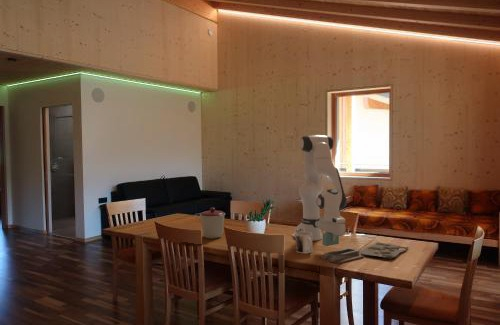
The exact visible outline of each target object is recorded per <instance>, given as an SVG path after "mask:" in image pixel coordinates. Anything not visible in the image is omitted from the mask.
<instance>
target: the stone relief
mask: <svg viewBox="0 0 500 325" xmlns="http://www.w3.org/2000/svg"><path fill="white" fill-rule="evenodd" d="M403 248H404V249H405V250H404V249H403ZM409 248H410V247H409V246H400V245H397V244H392V243H386V242H385V243H384V242H380V241H376V242H375V243H374V244H372V245H369V246H366V247H365V248H363V249H361V250H359V255H361V256H371V257H374V256H375V257H378V258H379V257H380V258H382V259H385V260H389V261H390V260H392V259H393V258H396V257H398V255H399V254H400V253H403V252H405V251H407V250H408V249H409ZM399 249H400V250H399Z"/></svg>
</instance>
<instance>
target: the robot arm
mask: <svg viewBox="0 0 500 325" xmlns="http://www.w3.org/2000/svg"><path fill="white" fill-rule="evenodd" d="M333 139H334V138H333V137H332V136H330V135H327V134H326V135H324V134H323V135H321V134H316V135H315V134H313V135H304V136H302V137H301V138H300V141H299V147H300V149H301V151H303V152H304V153H303V166H302V168H303V172H302V173H303V175H304V178H305V182H304V183H302V184H301V185H300V186H299V188H298V195H299V196H300V198H301V203H302V217H300V221H301V222H300V223H299V224H298V225H297V226H296V227H295V228H294V233H292V234H291V237H293V238H294V239H296V233H297V232H311V233H312V242H313V241H320V240H323V234H322V231H324V233H332V234H333V238H331V240H332V241H335V238H336V236H337V235H338V236H339V237H344V236H345V235H346V224H345V223H346V218H344V217H343V216H342V215H341V214H340V210H343V209H344V208H345V207H346V206H347V203H348V198H347V197H346V196H347V195H346V194H345V190H344V187H343V183H342V179H341V176H340V175H341V174H340V172H339V169H338V168H337V167H335V164H334V163H333V159H332V158H333V157H332V153H331V152H332V150H333V148H334V140H333ZM321 174H322V175H324V176H326V177H328V178H330V179H331V182H332V184H333V187H334V189H332V188H331V189H326V190H325V192H323V191H324V186H323V183H322V179H321V178H322V177H321ZM322 192H323V193H322ZM320 209H323V210H324V214H323V213H322V214H321V215H320Z"/></svg>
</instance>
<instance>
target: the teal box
mask: <svg viewBox="0 0 500 325" xmlns="http://www.w3.org/2000/svg"><path fill="white" fill-rule="evenodd" d="M331 238H333V234H332V233H325V232H323V233H322V246H324V247H329V246H334V245H335V246H336V245H339V244H340V243H339V242H340V241H339V240H340V236H338V235H337V236H336V238H335V241H332V240H331Z"/></svg>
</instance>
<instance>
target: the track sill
mask: <svg viewBox="0 0 500 325" xmlns="http://www.w3.org/2000/svg"><path fill="white" fill-rule="evenodd" d="M359 251H360V250H358V249H356V248H352V247H346V248H342V249H337V250H333V251H329V252H324V255H320V259H322V260H325V261H327V260H328V261H327V262H330V261H331V263H333V262H334V264H337V265H343V264H345V263H349V262H353V261H357V260H361V259H364V258H365V255H361V254H360V253H359Z"/></svg>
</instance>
